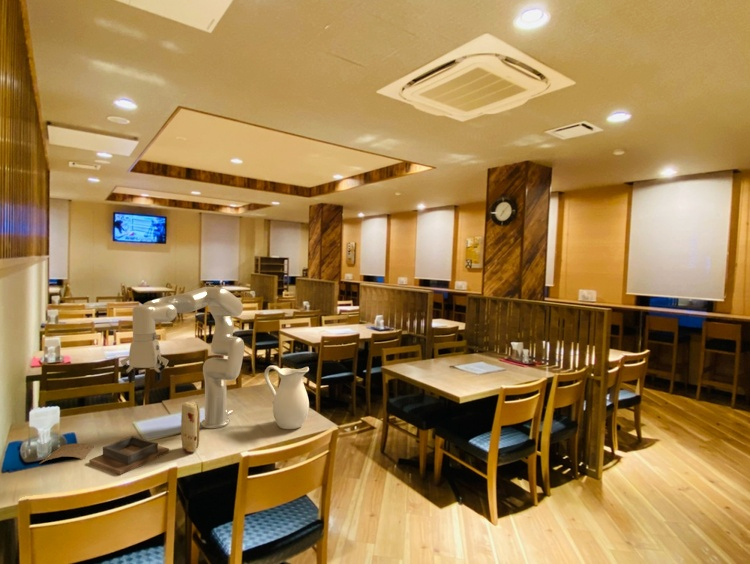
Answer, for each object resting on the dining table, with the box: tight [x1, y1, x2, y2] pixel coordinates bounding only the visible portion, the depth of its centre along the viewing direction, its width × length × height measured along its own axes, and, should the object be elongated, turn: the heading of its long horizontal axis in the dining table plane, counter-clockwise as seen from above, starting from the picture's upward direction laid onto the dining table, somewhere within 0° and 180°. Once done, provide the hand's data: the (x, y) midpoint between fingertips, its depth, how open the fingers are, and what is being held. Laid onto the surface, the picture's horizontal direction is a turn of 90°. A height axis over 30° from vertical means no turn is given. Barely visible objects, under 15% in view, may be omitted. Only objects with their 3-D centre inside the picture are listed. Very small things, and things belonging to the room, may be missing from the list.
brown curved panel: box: [40, 442, 95, 464], centre depth 158 cm, size 16×11×3 cm
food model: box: [180, 401, 201, 454], centre depth 165 cm, size 10×7×20 cm
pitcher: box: [263, 365, 310, 430], centre depth 195 cm, size 24×17×28 cm
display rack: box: [88, 435, 170, 476], centre depth 158 cm, size 20×18×5 cm
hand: (145, 381), depth 155 cm, fingers open, 9 cm apart
